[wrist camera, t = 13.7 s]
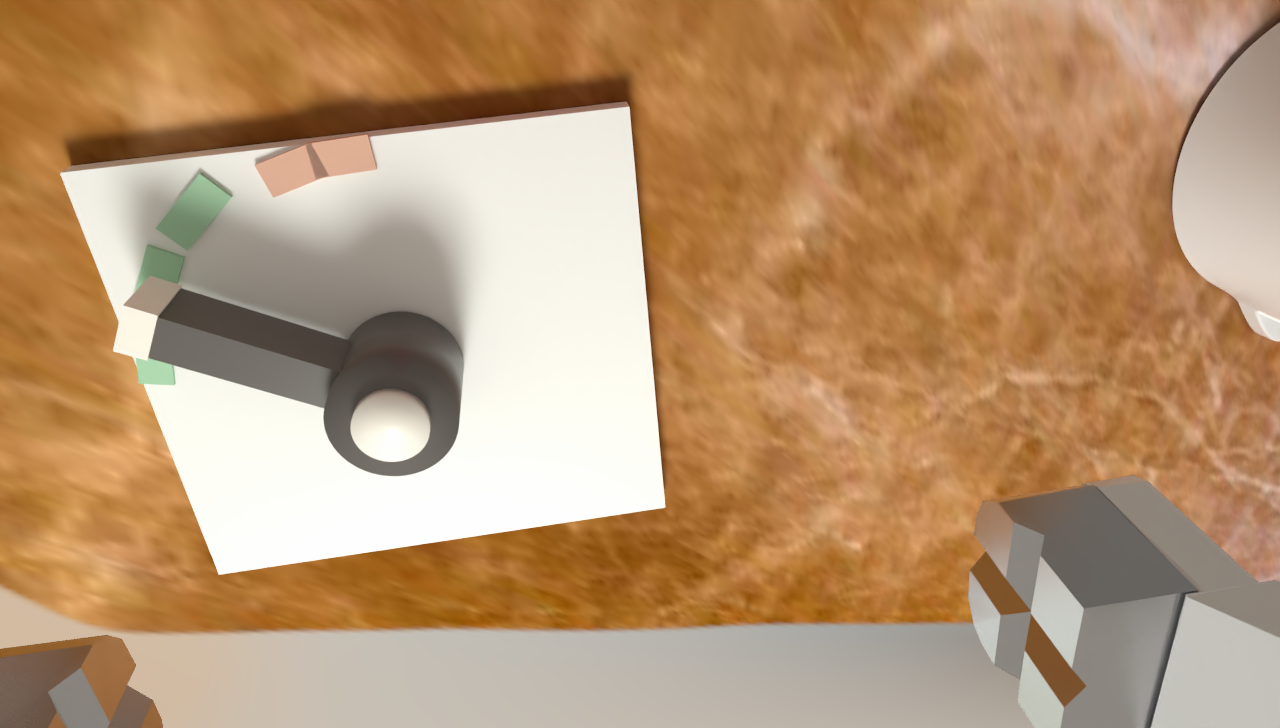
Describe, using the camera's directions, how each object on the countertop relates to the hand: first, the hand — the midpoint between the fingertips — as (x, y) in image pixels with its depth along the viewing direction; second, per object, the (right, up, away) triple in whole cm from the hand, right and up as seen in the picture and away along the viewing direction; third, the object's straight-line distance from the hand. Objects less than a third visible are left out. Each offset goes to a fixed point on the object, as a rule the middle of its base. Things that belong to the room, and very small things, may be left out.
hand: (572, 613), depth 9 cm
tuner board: (-10, +3, +32) cm, 34 cm away
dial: (-13, +3, +30) cm, 33 cm away
